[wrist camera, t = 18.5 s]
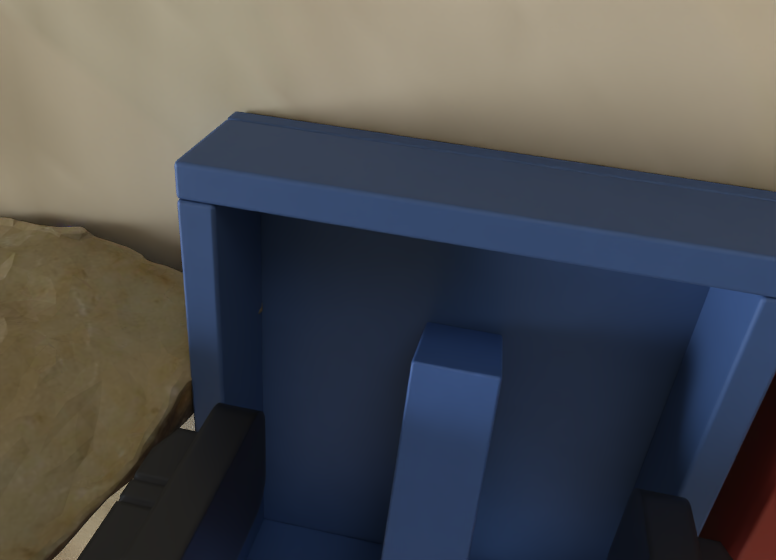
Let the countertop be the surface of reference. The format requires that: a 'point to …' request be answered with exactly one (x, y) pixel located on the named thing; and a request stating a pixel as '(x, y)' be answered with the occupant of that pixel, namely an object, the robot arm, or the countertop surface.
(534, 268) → the blue tray
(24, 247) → the rock
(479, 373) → the blue spoon
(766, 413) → the red tray
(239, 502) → the robot arm
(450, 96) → the countertop surface
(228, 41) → the countertop surface
